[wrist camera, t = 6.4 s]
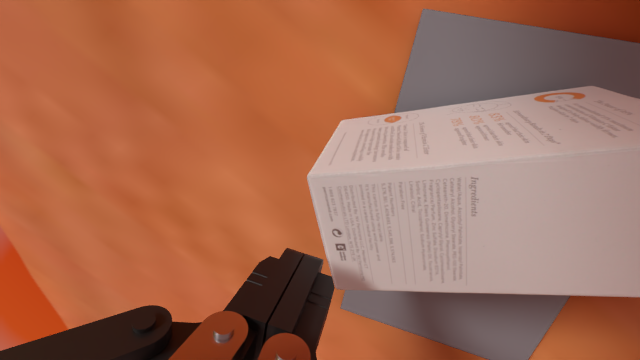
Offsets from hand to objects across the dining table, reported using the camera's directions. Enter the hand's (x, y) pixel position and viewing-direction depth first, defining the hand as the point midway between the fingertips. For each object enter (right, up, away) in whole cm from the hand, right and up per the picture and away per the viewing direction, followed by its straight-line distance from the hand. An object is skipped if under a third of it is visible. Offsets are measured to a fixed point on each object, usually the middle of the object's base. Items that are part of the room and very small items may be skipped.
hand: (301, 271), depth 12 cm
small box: (+1, +3, +5) cm, 6 cm away
